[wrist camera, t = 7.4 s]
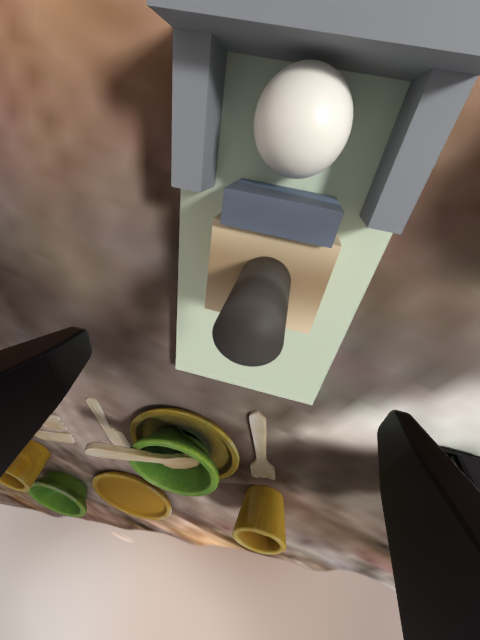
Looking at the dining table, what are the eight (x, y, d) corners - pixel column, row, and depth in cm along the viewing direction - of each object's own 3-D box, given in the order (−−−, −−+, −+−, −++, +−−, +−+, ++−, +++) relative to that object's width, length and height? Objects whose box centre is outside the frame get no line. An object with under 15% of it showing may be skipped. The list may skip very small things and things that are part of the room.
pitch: (311, 396, 24) (312, 455, 19) (180, 361, 25) (151, 410, 20) (470, 46, 11) (578, -17, 7) (194, 5, 12) (129, -74, 8)
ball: (381, 56, 9) (361, 78, 12) (256, 36, 9) (270, 63, 12) (336, 194, 11) (330, 181, 14) (238, 174, 11) (254, 166, 14)
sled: (308, 305, 18) (309, 405, 11) (219, 284, 18) (167, 367, 12) (345, 198, 14) (381, 250, 7) (232, 176, 15) (168, 205, 8)
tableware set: (279, 403, 26) (272, 468, 21) (293, 534, 40) (291, 593, 35) (-36, 385, 36) (-93, 425, 31) (64, 495, 50) (36, 535, 45)
